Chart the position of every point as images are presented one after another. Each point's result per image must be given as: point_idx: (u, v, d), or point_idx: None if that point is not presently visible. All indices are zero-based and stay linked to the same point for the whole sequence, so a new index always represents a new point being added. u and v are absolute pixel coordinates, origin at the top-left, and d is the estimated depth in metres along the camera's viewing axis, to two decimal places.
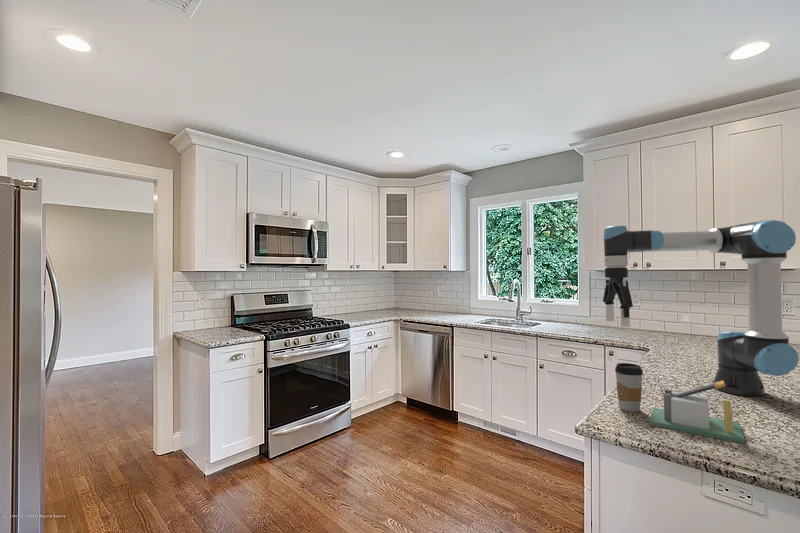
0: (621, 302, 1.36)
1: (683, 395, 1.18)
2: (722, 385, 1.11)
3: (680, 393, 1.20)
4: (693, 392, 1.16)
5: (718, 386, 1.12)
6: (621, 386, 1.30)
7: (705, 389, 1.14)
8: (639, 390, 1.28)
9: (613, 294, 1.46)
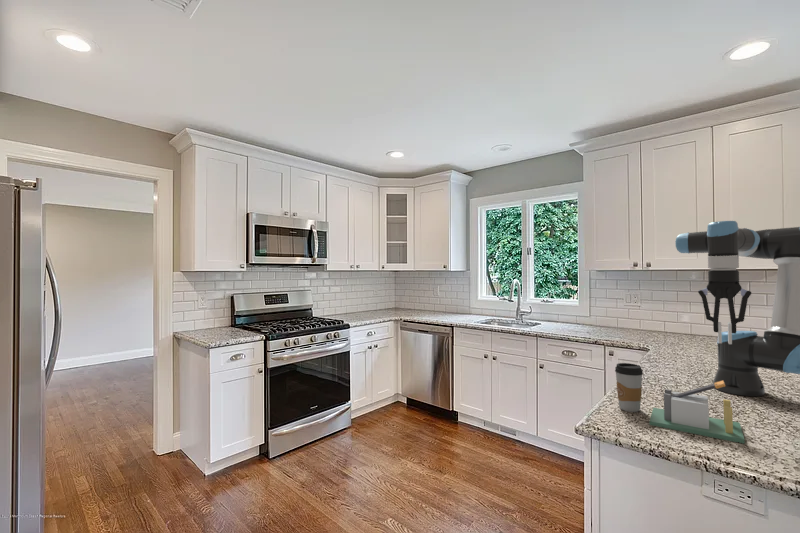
0: None
1: (683, 395, 1.18)
2: (722, 385, 1.11)
3: (680, 393, 1.20)
4: (693, 392, 1.16)
5: (718, 386, 1.12)
6: (621, 386, 1.30)
7: (705, 389, 1.14)
8: (639, 390, 1.28)
9: None
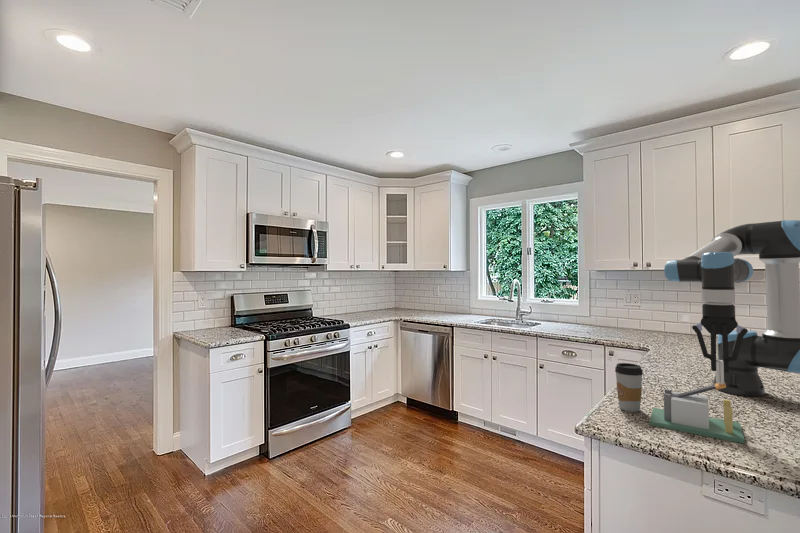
0: None
1: (683, 395, 1.18)
2: (723, 386, 1.11)
3: (680, 393, 1.20)
4: (693, 393, 1.16)
5: (719, 387, 1.12)
6: (621, 386, 1.30)
7: (705, 390, 1.14)
8: (639, 390, 1.28)
9: (722, 341, 1.12)
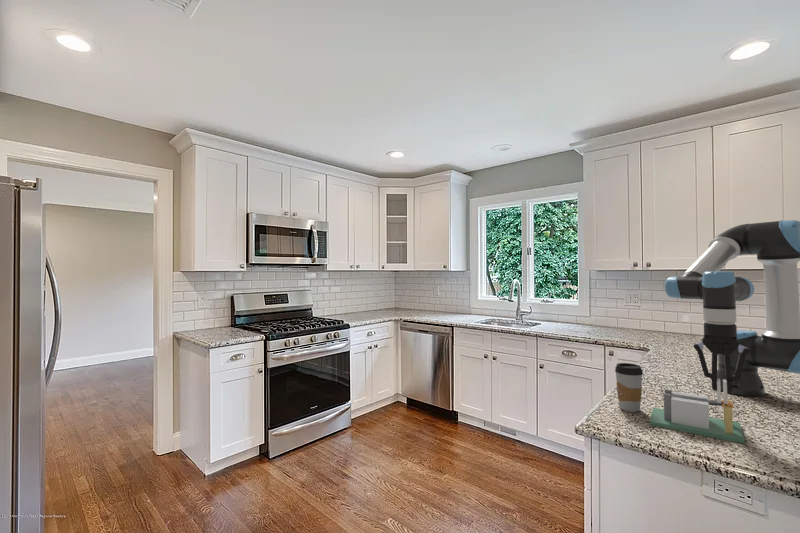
0: None
1: None
2: (730, 406, 1.10)
3: None
4: None
5: (726, 405, 1.11)
6: (621, 386, 1.30)
7: (711, 403, 1.14)
8: (639, 390, 1.28)
9: (724, 361, 1.12)
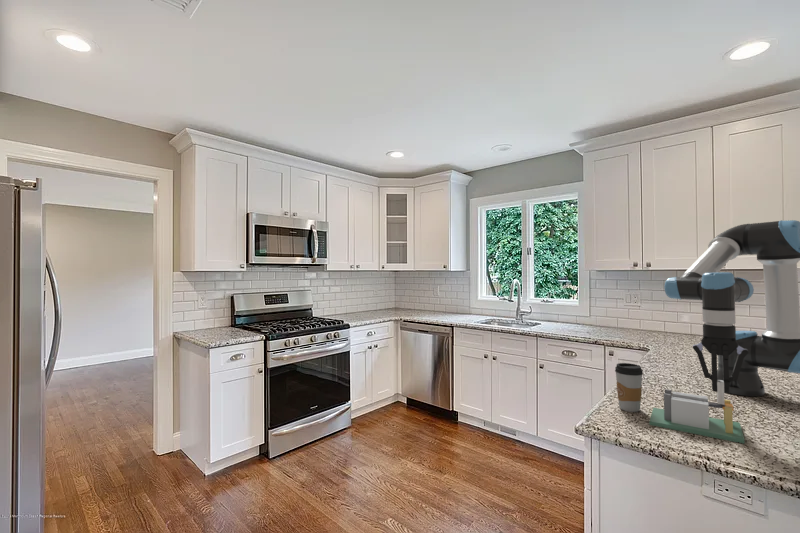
0: None
1: None
2: None
3: None
4: None
5: None
6: (621, 386, 1.30)
7: (711, 405, 1.14)
8: (639, 390, 1.28)
9: (722, 362, 1.12)
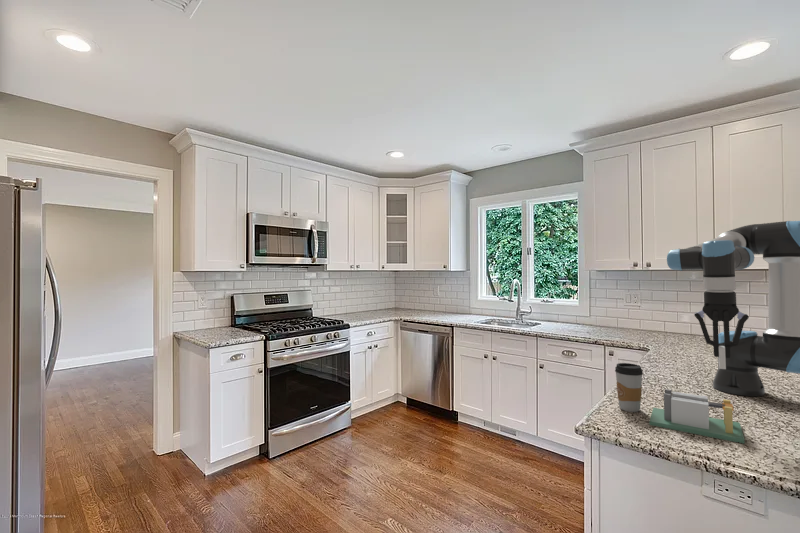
0: None
1: None
2: None
3: None
4: None
5: None
6: (621, 386, 1.30)
7: (711, 405, 1.14)
8: (639, 390, 1.28)
9: None
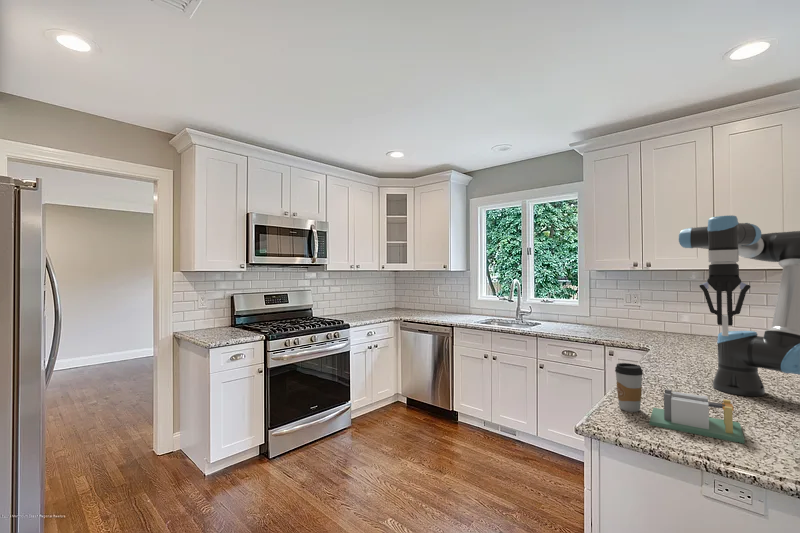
0: None
1: None
2: None
3: None
4: None
5: None
6: (621, 386, 1.30)
7: (711, 405, 1.14)
8: (639, 390, 1.28)
9: (727, 297, 1.23)
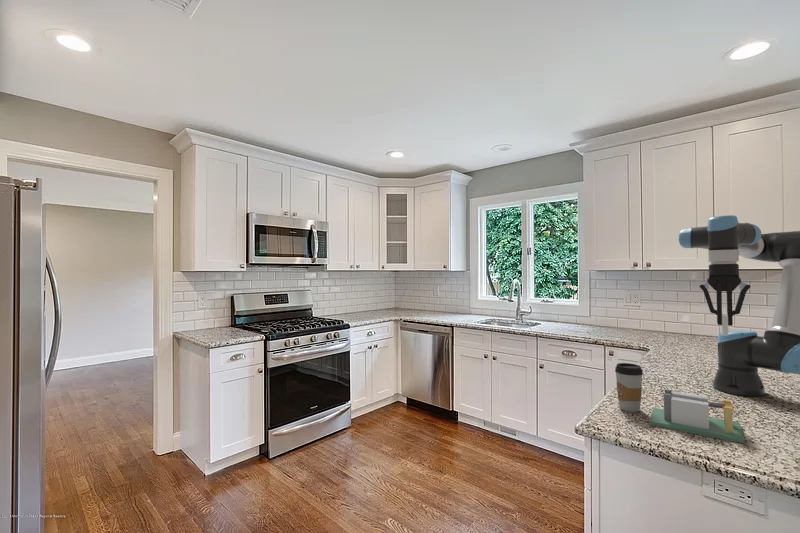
0: None
1: None
2: None
3: None
4: None
5: None
6: (621, 386, 1.30)
7: (711, 405, 1.14)
8: (639, 390, 1.28)
9: (727, 297, 1.23)
